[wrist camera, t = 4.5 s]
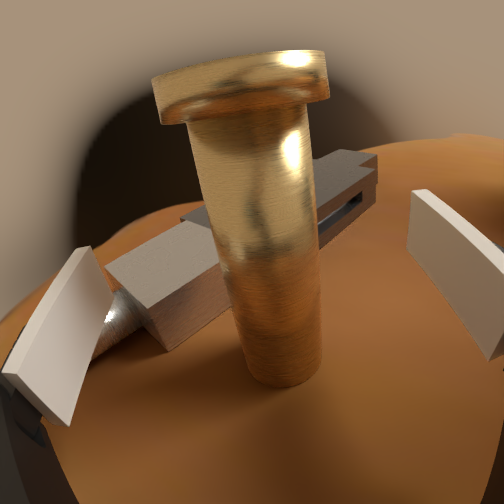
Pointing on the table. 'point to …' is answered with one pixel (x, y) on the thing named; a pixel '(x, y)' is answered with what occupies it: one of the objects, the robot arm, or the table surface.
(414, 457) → the table surface
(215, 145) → the clevis pin
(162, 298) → the clevis
